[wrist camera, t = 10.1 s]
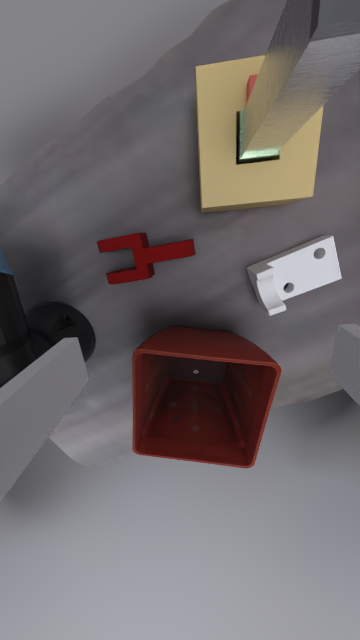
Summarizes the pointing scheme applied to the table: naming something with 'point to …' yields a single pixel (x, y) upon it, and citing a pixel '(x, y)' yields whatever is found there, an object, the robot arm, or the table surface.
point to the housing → (220, 145)
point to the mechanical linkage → (143, 255)
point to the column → (299, 73)
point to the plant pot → (201, 396)
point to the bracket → (294, 272)
